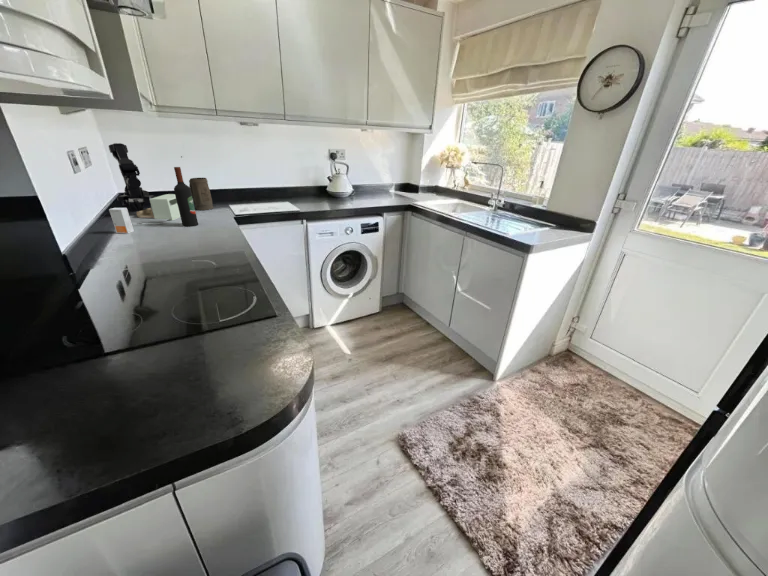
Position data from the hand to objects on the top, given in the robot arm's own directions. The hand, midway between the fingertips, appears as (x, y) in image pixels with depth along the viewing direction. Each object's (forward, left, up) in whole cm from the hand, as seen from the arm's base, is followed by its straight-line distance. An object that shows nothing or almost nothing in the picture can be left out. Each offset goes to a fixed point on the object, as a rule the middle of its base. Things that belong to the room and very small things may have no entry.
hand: (141, 213), depth 191 cm
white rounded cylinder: (-3, +7, -1) cm, 8 cm away
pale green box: (0, +17, -2) cm, 17 cm away
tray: (0, +10, -2) cm, 10 cm away
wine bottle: (+18, +37, -2) cm, 41 cm away
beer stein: (-26, +23, -2) cm, 35 cm away
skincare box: (+34, +13, -2) cm, 36 cm away
